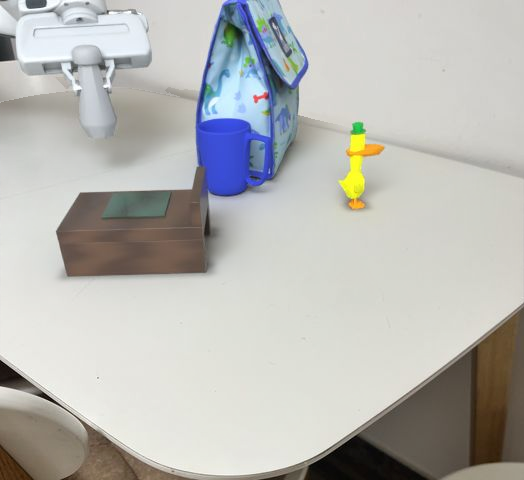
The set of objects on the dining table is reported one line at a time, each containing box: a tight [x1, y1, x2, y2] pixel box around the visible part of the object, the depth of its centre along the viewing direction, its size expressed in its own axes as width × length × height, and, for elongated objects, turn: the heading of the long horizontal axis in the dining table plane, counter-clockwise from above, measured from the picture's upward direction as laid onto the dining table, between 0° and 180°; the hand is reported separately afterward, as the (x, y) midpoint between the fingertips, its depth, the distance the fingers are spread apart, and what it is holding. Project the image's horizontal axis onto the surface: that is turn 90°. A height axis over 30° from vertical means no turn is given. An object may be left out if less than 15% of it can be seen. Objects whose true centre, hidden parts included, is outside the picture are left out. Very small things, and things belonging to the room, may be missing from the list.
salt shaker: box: [71, 45, 118, 140], centre depth 89 cm, size 6×6×13 cm
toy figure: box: [337, 121, 386, 210], centre depth 81 cm, size 7×4×12 cm, turn 106°
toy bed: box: [55, 166, 212, 277], centre depth 72 cm, size 17×12×9 cm
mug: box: [195, 118, 272, 197], centre depth 87 cm, size 8×12×10 cm
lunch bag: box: [195, 0, 309, 181], centre depth 95 cm, size 22×17×26 cm
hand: (93, 92), depth 88 cm, fingers closed on salt shaker, 3 cm apart
